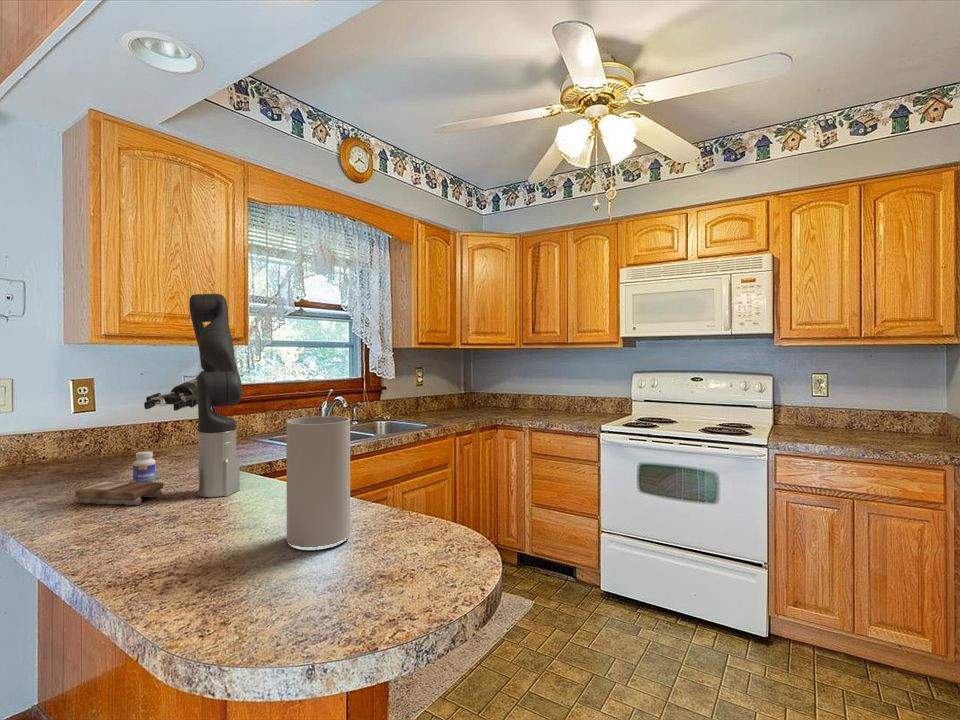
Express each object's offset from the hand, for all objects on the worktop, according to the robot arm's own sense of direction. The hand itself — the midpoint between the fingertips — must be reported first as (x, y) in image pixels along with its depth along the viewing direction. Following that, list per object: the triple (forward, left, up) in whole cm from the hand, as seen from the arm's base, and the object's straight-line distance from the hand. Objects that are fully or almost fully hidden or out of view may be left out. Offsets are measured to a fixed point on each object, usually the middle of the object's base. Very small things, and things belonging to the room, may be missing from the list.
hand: (160, 406), depth 152 cm
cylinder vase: (-68, +41, -22) cm, 82 cm away
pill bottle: (-1, +7, -22) cm, 24 cm away
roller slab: (-5, +20, -22) cm, 30 cm away
